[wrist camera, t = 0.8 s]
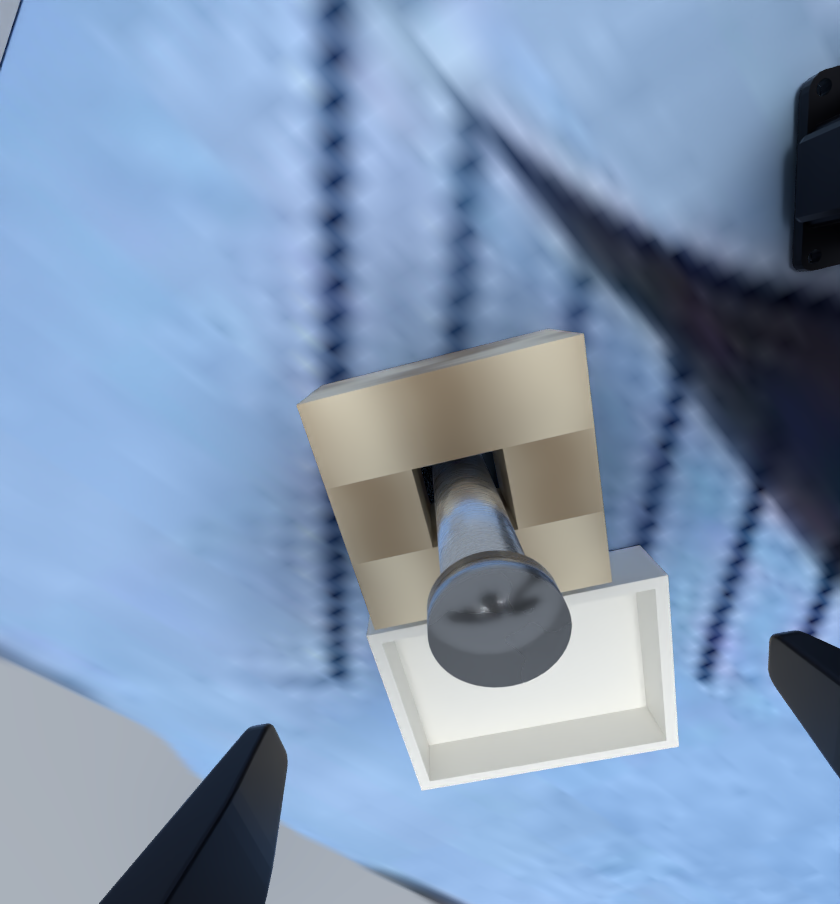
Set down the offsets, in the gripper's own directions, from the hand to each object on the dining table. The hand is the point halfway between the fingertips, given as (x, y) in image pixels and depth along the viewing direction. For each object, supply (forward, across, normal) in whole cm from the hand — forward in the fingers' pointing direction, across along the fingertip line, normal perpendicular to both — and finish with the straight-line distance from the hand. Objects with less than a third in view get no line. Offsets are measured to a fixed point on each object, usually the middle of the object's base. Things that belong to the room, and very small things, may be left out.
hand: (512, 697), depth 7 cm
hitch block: (+13, 0, 0) cm, 13 cm away
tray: (+12, -1, +12) cm, 18 cm away
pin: (+13, 0, 0) cm, 13 cm away
